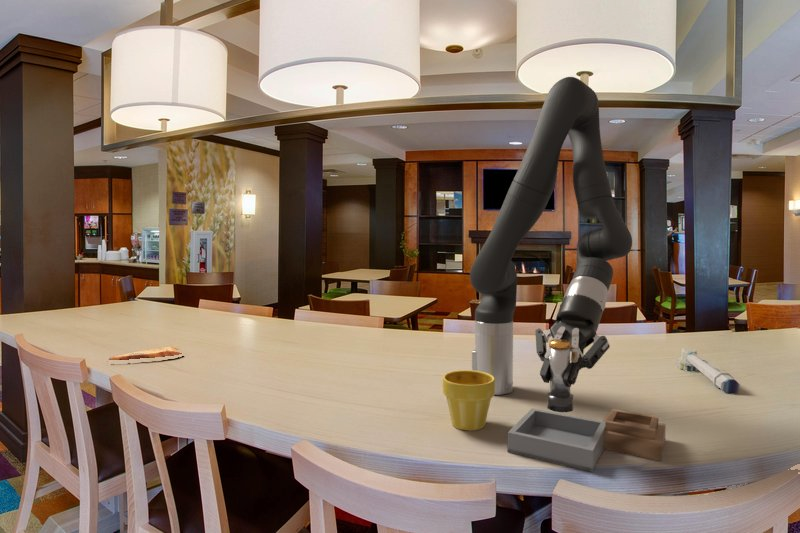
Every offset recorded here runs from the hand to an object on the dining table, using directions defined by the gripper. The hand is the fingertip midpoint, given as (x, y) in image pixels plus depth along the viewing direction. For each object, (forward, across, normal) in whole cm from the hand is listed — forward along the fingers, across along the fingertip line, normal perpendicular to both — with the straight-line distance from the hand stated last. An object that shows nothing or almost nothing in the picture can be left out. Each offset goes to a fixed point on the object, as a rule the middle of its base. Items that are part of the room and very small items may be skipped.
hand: (555, 382), depth 84 cm
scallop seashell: (+24, -125, -8) cm, 128 cm away
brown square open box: (0, +9, +17) cm, 19 cm away
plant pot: (+9, -18, +8) cm, 22 cm away
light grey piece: (-38, +11, +57) cm, 69 cm away
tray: (+7, 0, +10) cm, 12 cm away
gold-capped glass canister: (+2, 0, +5) cm, 5 cm away
